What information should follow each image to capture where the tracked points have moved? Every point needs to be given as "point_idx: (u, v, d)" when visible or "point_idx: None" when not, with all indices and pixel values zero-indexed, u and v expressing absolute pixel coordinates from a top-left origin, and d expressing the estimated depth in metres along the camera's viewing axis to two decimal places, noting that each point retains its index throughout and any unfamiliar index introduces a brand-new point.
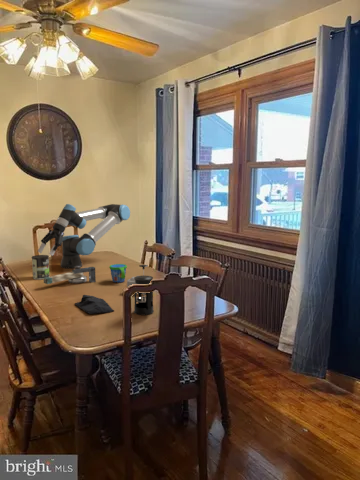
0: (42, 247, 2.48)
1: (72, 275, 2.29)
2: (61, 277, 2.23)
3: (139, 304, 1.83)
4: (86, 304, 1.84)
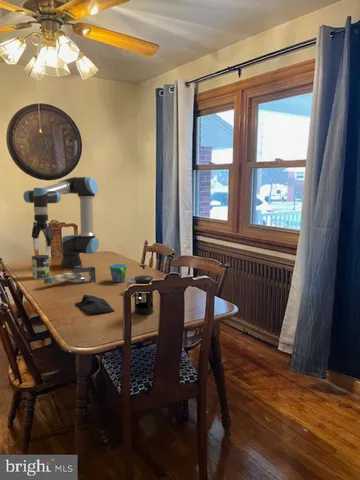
0: (37, 243, 2.26)
1: (72, 275, 2.29)
2: (61, 277, 2.23)
3: (139, 304, 1.83)
4: (87, 304, 1.84)
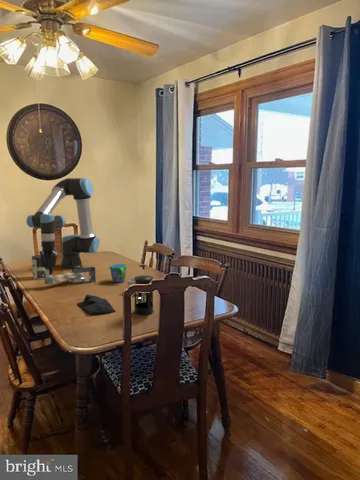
0: None
1: (72, 275, 2.29)
2: (62, 277, 2.23)
3: (139, 304, 1.83)
4: (88, 304, 1.84)
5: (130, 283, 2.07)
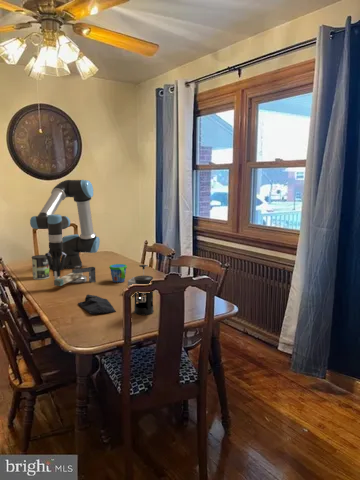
0: None
1: (76, 275, 2.29)
2: (69, 278, 2.21)
3: (139, 304, 1.83)
4: (89, 304, 1.84)
5: (130, 283, 2.07)
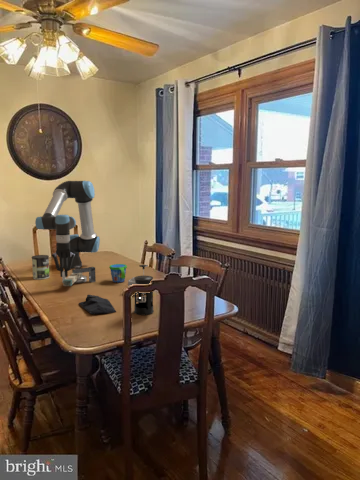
0: None
1: (78, 275, 2.29)
2: (75, 278, 2.21)
3: (139, 304, 1.83)
4: (89, 304, 1.84)
5: (130, 283, 2.07)
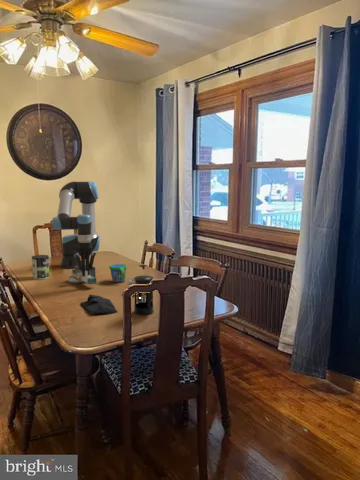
0: None
1: None
2: None
3: (139, 304, 1.83)
4: (91, 304, 1.84)
5: (131, 283, 2.07)
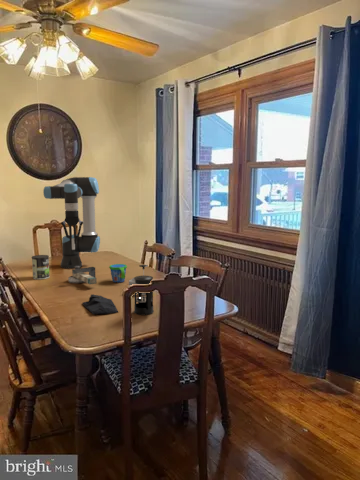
0: None
1: None
2: None
3: (139, 304, 1.83)
4: (92, 304, 1.84)
5: (131, 283, 2.06)
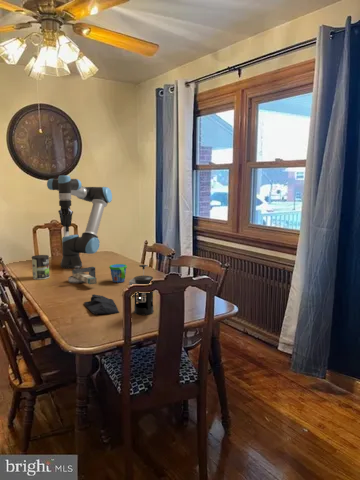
0: None
1: None
2: None
3: (139, 304, 1.83)
4: (93, 304, 1.84)
5: (132, 283, 2.06)
